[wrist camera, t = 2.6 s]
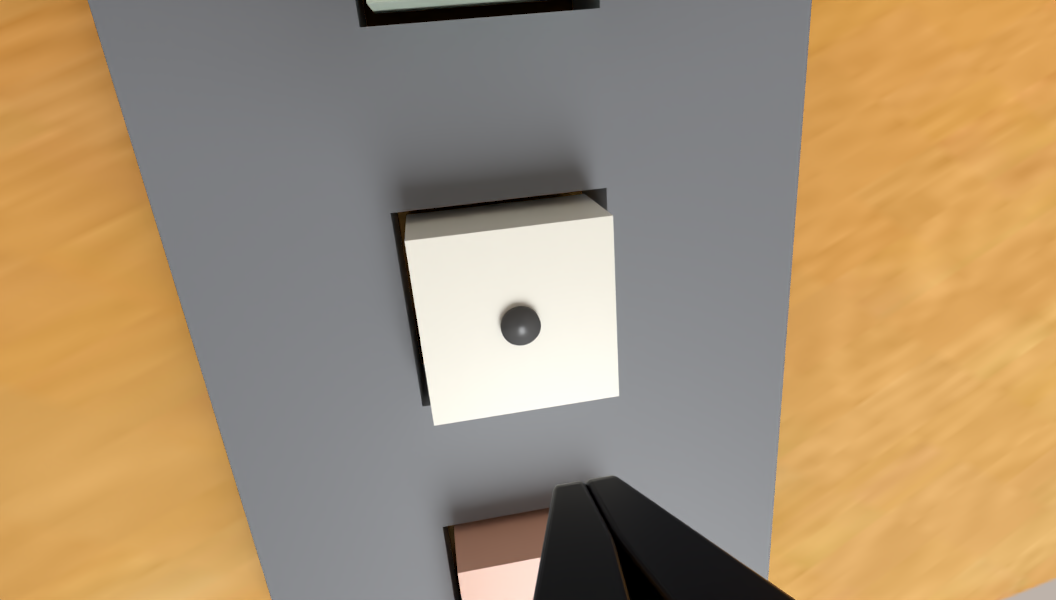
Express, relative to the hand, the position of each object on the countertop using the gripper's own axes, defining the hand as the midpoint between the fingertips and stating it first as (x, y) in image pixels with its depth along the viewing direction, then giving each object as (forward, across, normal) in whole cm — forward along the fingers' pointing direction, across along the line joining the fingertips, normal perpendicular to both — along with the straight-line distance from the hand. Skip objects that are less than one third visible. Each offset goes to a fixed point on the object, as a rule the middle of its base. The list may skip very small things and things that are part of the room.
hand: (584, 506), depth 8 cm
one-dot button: (+9, 0, 0) cm, 9 cm away
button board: (+10, 0, 0) cm, 10 cm away
